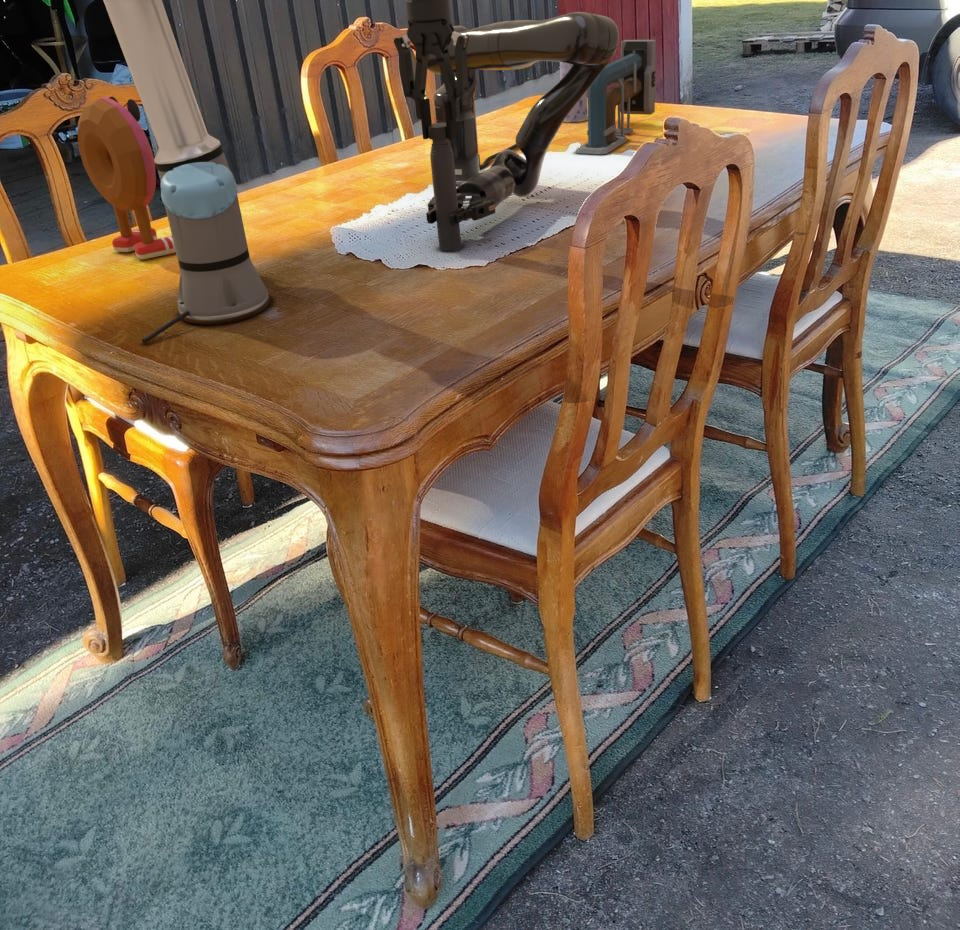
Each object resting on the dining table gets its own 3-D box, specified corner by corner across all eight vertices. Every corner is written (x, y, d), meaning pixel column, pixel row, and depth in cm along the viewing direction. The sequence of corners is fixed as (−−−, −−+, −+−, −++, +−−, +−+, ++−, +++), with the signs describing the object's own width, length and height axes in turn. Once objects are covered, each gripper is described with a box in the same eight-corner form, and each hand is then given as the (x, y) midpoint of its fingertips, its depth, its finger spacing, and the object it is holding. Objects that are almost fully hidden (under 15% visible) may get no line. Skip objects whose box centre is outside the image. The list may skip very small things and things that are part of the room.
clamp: (605, 154, 239) (605, 62, 228) (573, 153, 243) (571, 62, 232) (654, 123, 265) (655, 39, 254) (624, 122, 269) (624, 39, 258)
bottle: (434, 249, 185) (422, 129, 174) (448, 243, 188) (437, 124, 177) (452, 252, 183) (441, 130, 172) (465, 246, 186) (455, 125, 175)
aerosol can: (559, 122, 275) (557, 47, 265) (562, 117, 282) (559, 42, 272) (587, 121, 274) (585, 45, 263) (589, 115, 280) (587, 41, 270)
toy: (197, 251, 195) (161, 95, 180) (152, 266, 189) (111, 105, 174) (143, 235, 208) (105, 88, 193) (99, 248, 202) (57, 97, 187)
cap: (423, 138, 175) (422, 126, 174) (438, 133, 178) (437, 121, 177) (442, 140, 173) (440, 128, 172) (456, 135, 175) (455, 123, 174)
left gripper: (371, -1, 163) (388, 142, 175) (465, -5, 157) (476, 143, 169) (391, -6, 169) (406, 132, 181) (482, -10, 163) (491, 133, 175)
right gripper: (447, 173, 194) (405, 197, 181) (512, 176, 188) (472, 201, 175) (451, 210, 198) (409, 236, 185) (514, 215, 192) (476, 241, 179)
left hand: (440, 137), depth 175 cm, fingers closed on cap, 4 cm apart
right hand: (440, 219), depth 180 cm, fingers closed on bottle, 4 cm apart
